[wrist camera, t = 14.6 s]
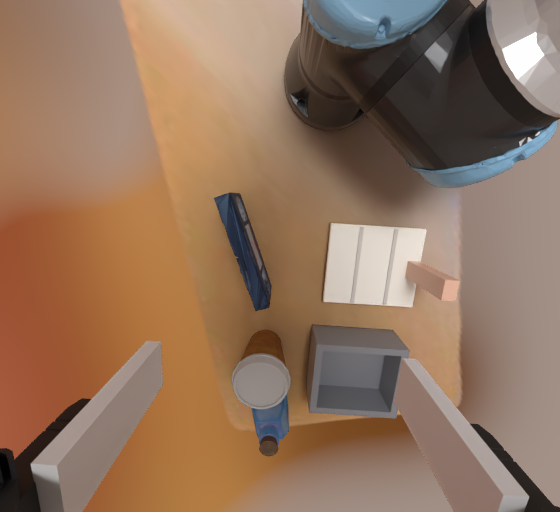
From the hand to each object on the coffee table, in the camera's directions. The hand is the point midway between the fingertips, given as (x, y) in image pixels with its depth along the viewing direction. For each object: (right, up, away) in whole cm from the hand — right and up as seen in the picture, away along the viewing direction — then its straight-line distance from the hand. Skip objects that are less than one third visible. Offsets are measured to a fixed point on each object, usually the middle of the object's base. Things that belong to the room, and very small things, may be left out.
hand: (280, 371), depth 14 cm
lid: (+17, +5, +34) cm, 38 cm away
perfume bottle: (-2, -23, +41) cm, 47 cm away
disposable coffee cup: (-3, -11, +38) cm, 40 cm away
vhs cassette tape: (-5, +9, +34) cm, 35 cm away
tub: (+14, -15, +39) cm, 44 cm away
